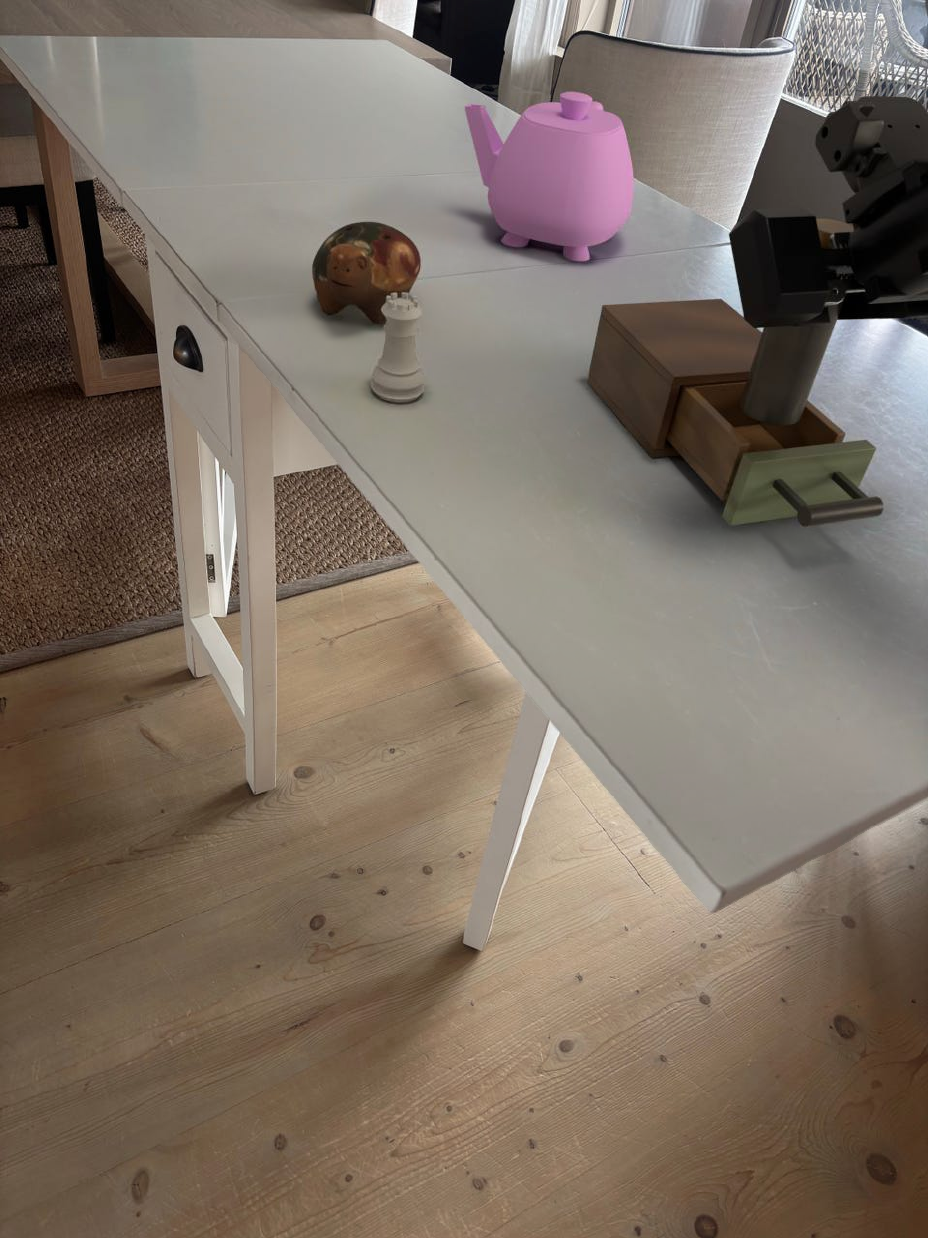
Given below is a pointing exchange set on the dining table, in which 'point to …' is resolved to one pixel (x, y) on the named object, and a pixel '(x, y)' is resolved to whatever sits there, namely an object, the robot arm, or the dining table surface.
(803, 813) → the dining table surface
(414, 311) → the rook chess piece
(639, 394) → the cabinet
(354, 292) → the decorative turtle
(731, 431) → the drawer
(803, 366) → the pepper mill
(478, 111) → the teapot
